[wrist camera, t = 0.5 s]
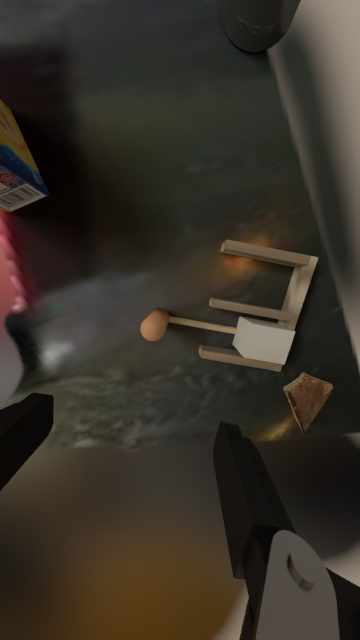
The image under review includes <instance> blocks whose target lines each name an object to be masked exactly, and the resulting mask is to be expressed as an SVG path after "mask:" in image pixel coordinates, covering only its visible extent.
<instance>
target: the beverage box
mask: <svg viewBox="0 0 360 640" xmlns="http://www.w3.org/2000/svg"><path fill="white" fill-rule="evenodd" d="M48 195H49V193H48V190H47V188H46V186H45V184H44V182H43V179H42V177H41V175H40V173H39V171H38V169H37V166H36V164H35V162H34V160H33V158H32V156H31V153H30V151H29V149H28V147H27V145H26V142H25V140H24V138H23V136H22V134H21V132H20V129H19V127H18V125H17V123H16V121H15V119H14V116H13V114H12V112H11V110H10V109H9V108H8V107H7V106H6V105H5V103H4V102H3V101H2V100H1V99H0V209H2V210H4V211H7V212H11V211H14V210H16V209H18V208H20V207H23V206H25V205H27V204H29V203H32V202H34V201H36V200H38V199H41V198H43V197H45V196H48Z"/></svg>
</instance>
